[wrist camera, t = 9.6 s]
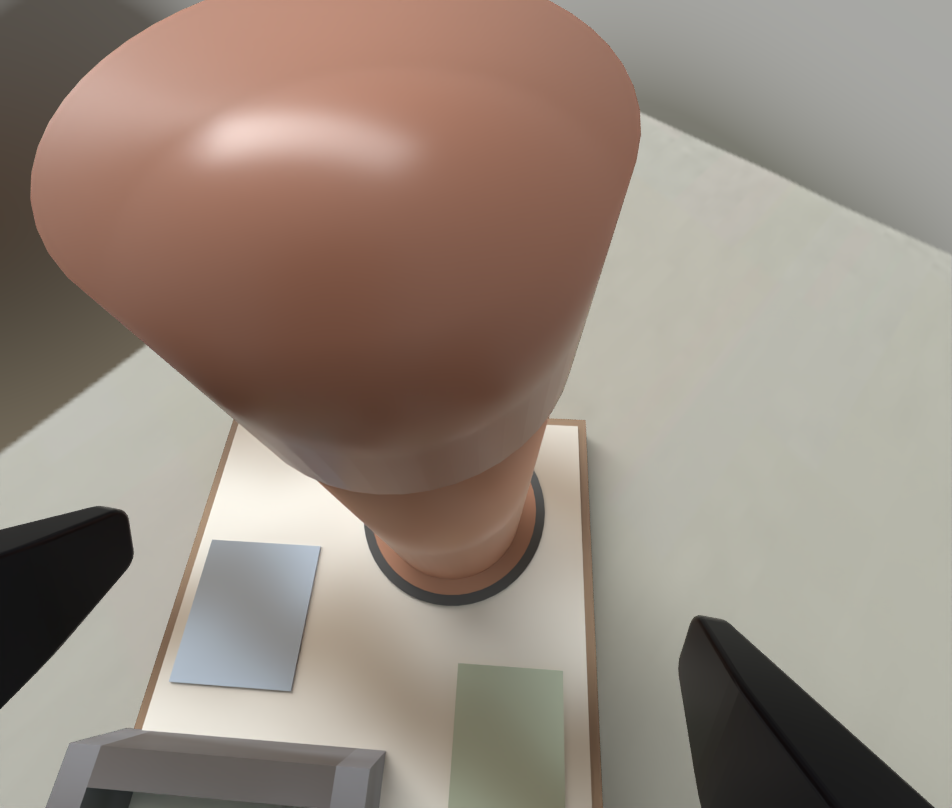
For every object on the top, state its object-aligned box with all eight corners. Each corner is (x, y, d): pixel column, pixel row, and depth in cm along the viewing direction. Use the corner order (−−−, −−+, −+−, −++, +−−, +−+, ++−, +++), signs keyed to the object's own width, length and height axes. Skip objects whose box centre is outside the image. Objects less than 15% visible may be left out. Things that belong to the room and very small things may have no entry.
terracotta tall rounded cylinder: (521, 587, 14) (677, 369, 3) (372, 578, 14) (-116, 334, 3) (523, 446, 16) (617, -34, 5) (393, 440, 16) (166, -35, 5)
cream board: (608, 1136, 10) (650, 1313, 8) (43, 1066, 11) (-102, 1205, 8) (580, 430, 18) (596, 394, 15) (245, 415, 18) (204, 377, 16)
